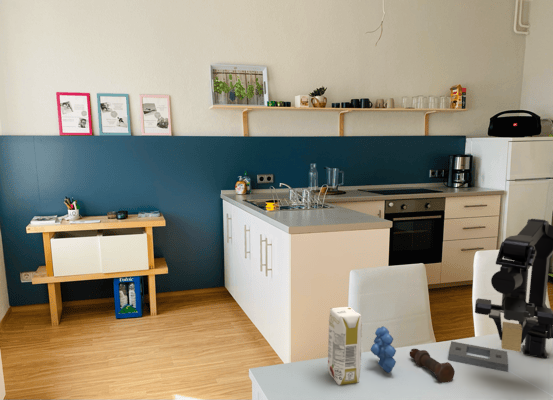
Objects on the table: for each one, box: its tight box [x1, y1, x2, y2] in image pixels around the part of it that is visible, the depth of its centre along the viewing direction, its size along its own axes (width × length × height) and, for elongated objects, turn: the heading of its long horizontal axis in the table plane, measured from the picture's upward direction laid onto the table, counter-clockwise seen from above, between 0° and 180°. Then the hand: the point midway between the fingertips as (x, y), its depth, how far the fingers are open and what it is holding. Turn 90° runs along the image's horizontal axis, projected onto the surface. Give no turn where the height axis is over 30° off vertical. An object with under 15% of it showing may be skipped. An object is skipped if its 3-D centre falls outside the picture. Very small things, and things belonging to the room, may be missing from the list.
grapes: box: [370, 325, 397, 374], centre depth 128 cm, size 12×7×12 cm, turn 9°
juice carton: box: [327, 306, 363, 386], centre depth 122 cm, size 8×9×19 cm
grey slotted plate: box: [447, 340, 509, 372], centre depth 136 cm, size 10×16×2 cm, turn 64°
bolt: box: [409, 348, 456, 384], centre depth 129 cm, size 6×5×15 cm
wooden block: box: [500, 321, 522, 353], centre depth 121 cm, size 4×4×6 cm
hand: (511, 341), depth 122 cm, fingers closed on wooden block, 4 cm apart
